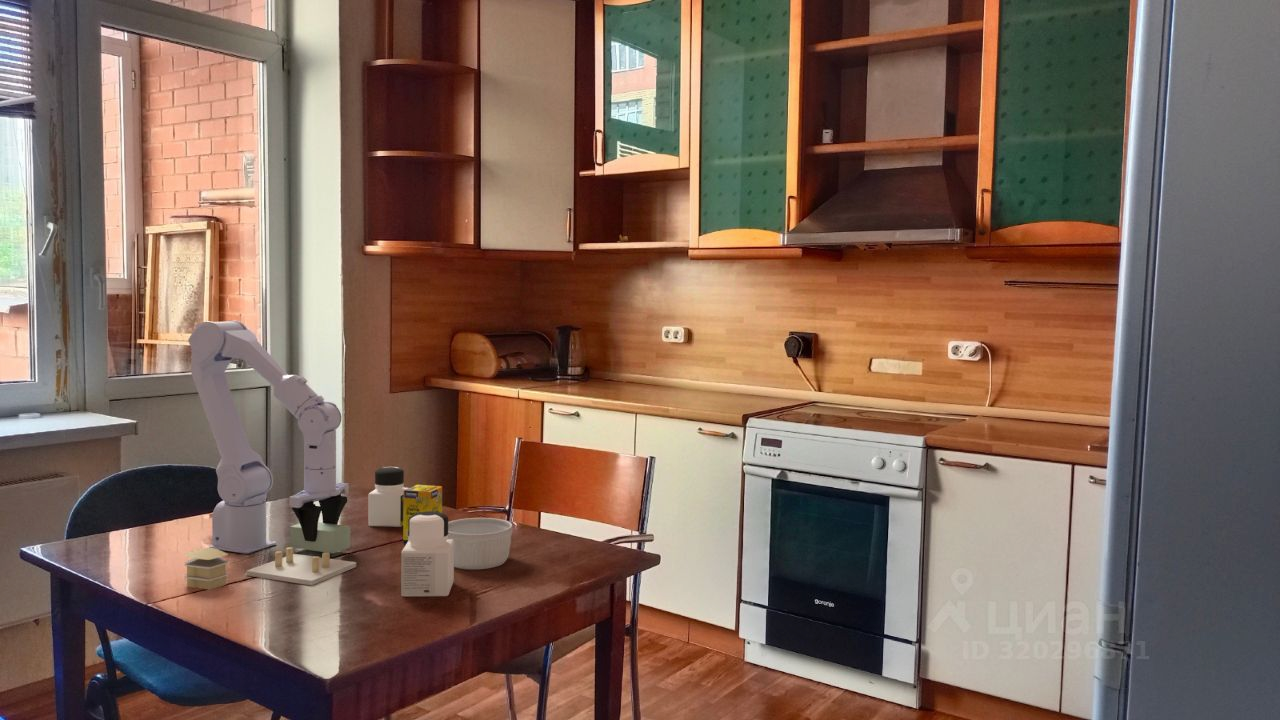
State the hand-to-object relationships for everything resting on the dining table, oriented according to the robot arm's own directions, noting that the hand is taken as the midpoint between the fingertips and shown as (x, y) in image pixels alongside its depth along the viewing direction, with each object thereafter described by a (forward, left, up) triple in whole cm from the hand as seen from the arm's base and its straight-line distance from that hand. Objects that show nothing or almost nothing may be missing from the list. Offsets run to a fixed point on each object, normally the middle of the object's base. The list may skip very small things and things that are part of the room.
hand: (320, 537), depth 178 cm
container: (+31, -11, -3) cm, 33 cm away
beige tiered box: (-4, -23, -3) cm, 24 cm away
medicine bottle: (-2, +25, -3) cm, 25 cm away
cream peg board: (+5, -11, -3) cm, 12 cm away
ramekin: (+30, +7, -3) cm, 31 cm away
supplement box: (+13, +15, -3) cm, 20 cm away
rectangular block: (0, 0, -2) cm, 2 cm away
